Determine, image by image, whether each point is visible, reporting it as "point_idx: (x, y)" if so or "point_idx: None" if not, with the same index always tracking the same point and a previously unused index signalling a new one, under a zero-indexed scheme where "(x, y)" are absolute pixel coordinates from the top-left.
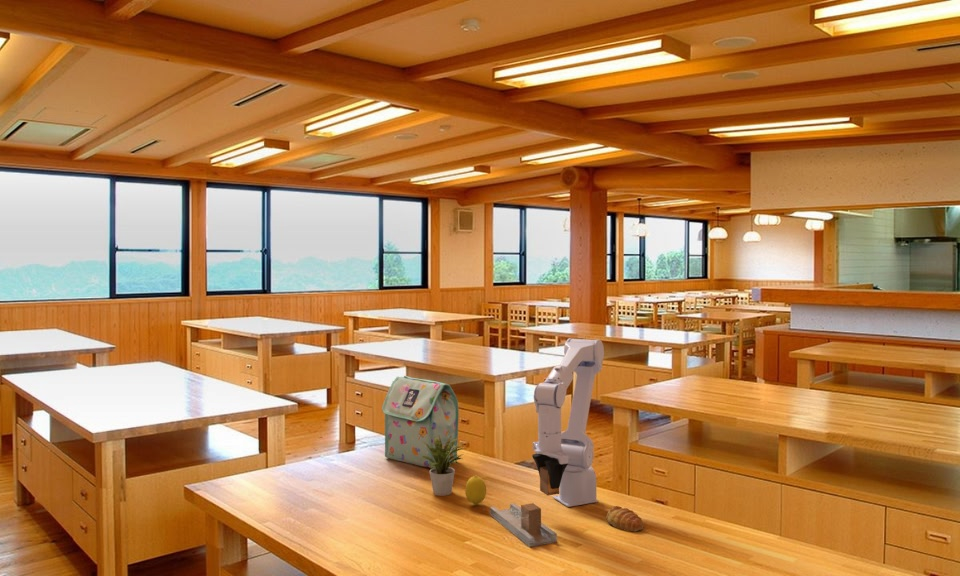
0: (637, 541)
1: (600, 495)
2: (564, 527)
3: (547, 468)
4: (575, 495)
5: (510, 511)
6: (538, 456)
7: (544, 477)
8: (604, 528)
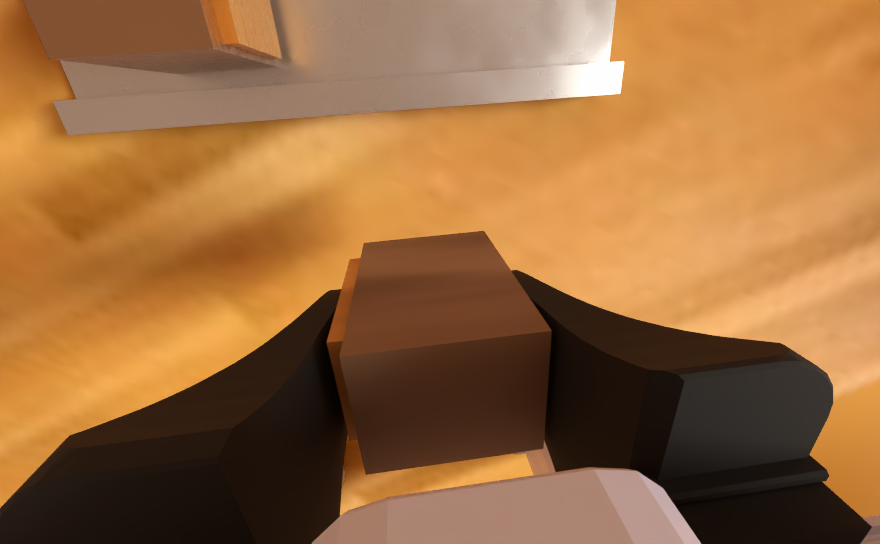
0: None
1: None
2: (300, 246)
3: (274, 381)
4: None
5: (567, 42)
6: (660, 433)
7: (421, 296)
8: None
